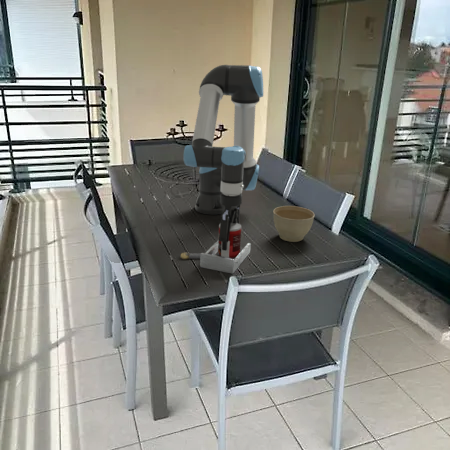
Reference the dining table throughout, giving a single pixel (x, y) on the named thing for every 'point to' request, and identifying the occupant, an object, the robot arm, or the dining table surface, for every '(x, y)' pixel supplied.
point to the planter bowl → (292, 222)
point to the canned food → (232, 240)
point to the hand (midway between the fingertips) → (229, 252)
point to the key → (190, 255)
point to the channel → (222, 259)
